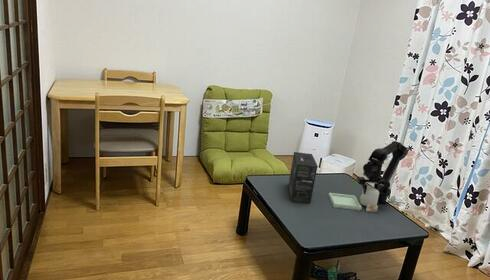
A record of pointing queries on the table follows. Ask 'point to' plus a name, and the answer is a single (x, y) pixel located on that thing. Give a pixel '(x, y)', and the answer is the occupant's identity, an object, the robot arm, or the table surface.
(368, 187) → the photo printer
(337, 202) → the tray
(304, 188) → the headset box
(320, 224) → the table surface
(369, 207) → the holder
